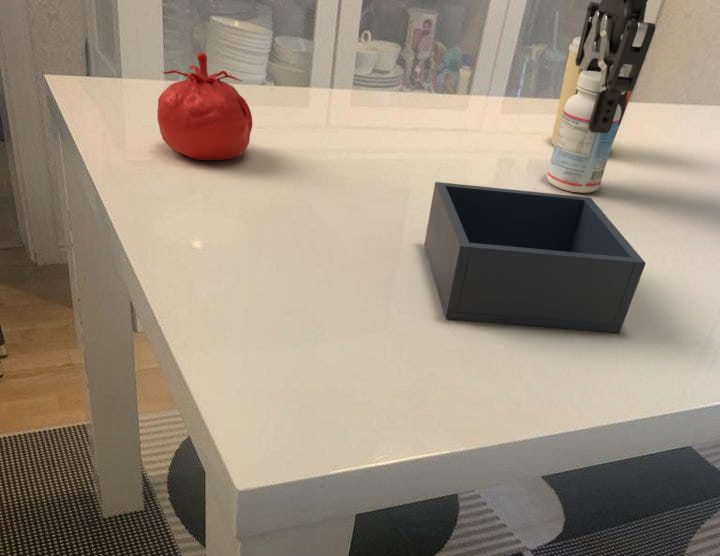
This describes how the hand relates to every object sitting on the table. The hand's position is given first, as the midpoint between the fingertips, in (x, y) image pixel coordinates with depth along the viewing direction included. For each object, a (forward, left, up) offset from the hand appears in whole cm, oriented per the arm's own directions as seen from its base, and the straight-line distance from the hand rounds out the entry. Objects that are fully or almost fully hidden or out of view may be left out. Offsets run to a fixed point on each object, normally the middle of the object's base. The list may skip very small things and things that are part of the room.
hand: (588, 122), depth 80 cm
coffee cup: (-6, -17, -7) cm, 19 cm away
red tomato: (+41, +2, -7) cm, 42 cm away
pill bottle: (0, 0, -7) cm, 7 cm away
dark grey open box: (+13, +29, -7) cm, 32 cm away
